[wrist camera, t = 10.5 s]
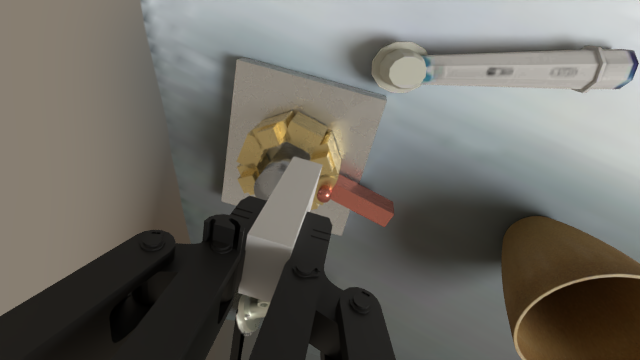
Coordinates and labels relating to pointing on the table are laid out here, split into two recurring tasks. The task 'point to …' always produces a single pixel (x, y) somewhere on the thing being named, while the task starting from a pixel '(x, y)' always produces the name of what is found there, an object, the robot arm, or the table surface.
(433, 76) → the white handheld device
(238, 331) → the butterfly valve
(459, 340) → the table surface
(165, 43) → the table surface
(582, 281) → the plant pot
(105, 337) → the robot arm
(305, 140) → the yellow valve with lever
